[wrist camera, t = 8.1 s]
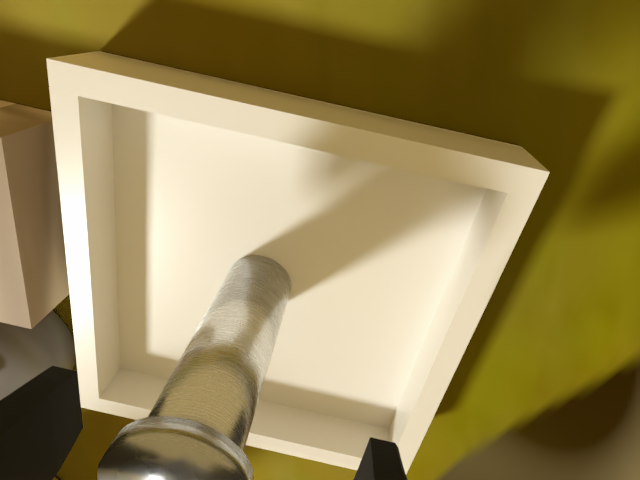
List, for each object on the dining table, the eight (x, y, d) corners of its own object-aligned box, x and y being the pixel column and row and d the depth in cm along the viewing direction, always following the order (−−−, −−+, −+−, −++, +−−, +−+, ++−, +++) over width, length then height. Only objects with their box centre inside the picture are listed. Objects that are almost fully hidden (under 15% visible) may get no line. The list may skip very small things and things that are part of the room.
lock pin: (214, 307, 17) (101, 518, 10) (220, 236, 15) (92, 425, 8) (294, 325, 17) (238, 549, 10) (308, 256, 15) (255, 463, 8)
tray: (112, 364, 20) (81, 407, 18) (98, 50, 14) (46, 58, 11) (399, 429, 20) (402, 480, 18) (521, 146, 14) (550, 172, 11)
